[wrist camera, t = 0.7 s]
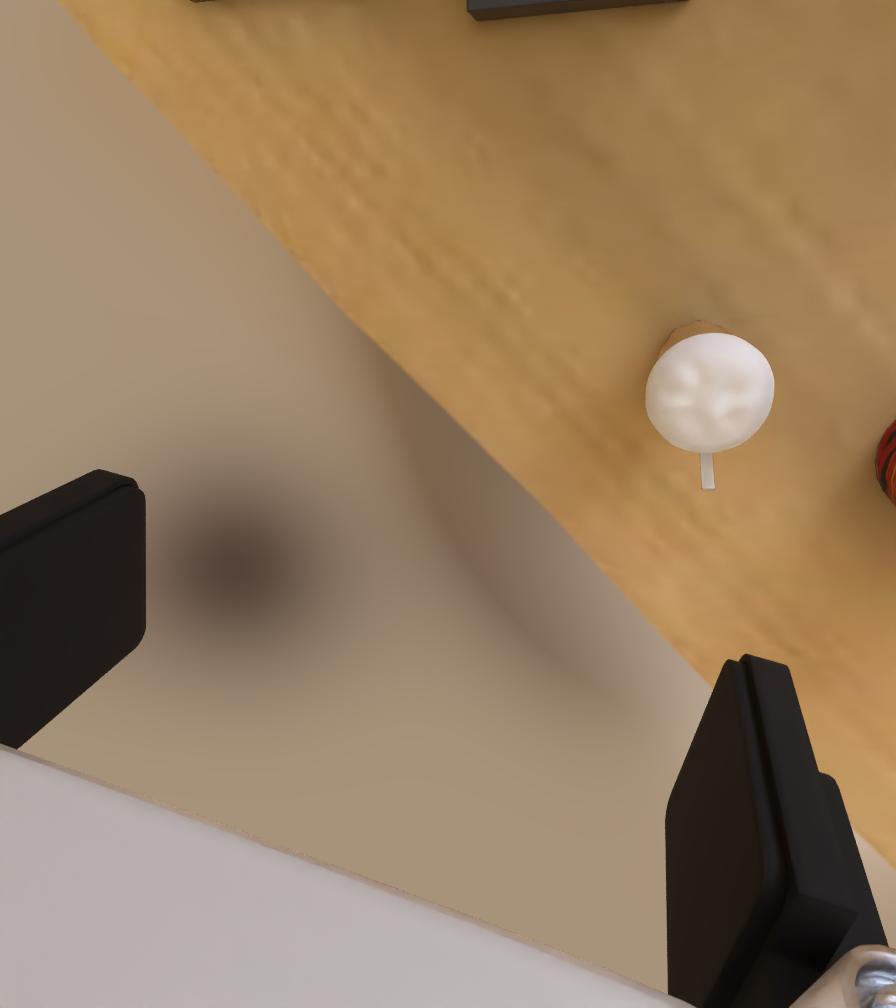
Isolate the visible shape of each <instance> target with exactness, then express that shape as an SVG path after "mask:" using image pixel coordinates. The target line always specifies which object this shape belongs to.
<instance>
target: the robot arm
mask: <svg viewBox="0 0 896 1008" xmlns="http://www.w3.org/2000/svg"><path fill="white" fill-rule="evenodd" d="M145 505H146V502H145V495H144V493H143V491H141V490H140V489H139V487H138V485H137V482H136V481H135V480H134V479H133V478H130V477H126V476H123V475H119V474H115V473H112V472H109V471H105V470H101V469H98V470H94V471H92V472H90V473H87V474H85V475H83V476H81V477H79V478H77V479H75V480H73V481H71V482H69V483H67V484H64V485H62V486H60V487H58V488H56V489H54V490H52V491H50V492H48V493H46V494H43V495H41V496H39V497H37V498H35V499H33V500H31V501H29V502H27V503H25V504H22V505H20V506H18V507H16V508H14V509H12V510H10V511H8V512H6V513H4V514H1V515H0V1008H896V949H894V948H890V947H889V946H888V943H887V939H886V936H885V933H884V930H883V927H882V924H881V920H880V918H879V914H878V911H877V908H876V904H875V902H874V899H873V896H872V892H871V889H870V885H869V882H868V879H867V876H866V873H865V870H864V867H863V863H862V860H861V857H860V854H859V850H858V847H857V844H856V841H855V838H854V834H853V831H852V828H851V825H850V822H849V819H848V815H847V812H846V809H845V806H844V803H843V799H842V796H841V793H840V790H839V787H838V785H837V783H836V781H835V779H834V778H832V777H831V776H830V775H828V774H824V773H821V772H819V771H818V767H817V764H816V760H815V757H814V753H813V750H812V746H811V743H810V739H809V736H808V733H807V729H806V726H805V722H804V719H803V715H802V712H801V708H800V705H799V701H798V698H797V694H796V691H795V687H794V684H793V680H792V677H791V673H790V670H789V668H788V666H786V665H784V664H781V663H777V662H774V661H770V660H767V659H763V658H760V657H756V656H753V655H749V654H744V655H743V656H742V657H741V659H740V660H739V662H737V661H734V660H730V659H728V660H727V661H726V662H725V663H724V665H723V667H722V670H721V672H720V675H719V677H718V679H717V682H716V684H715V687H714V689H713V692H712V695H711V697H710V699H709V702H708V704H707V706H706V709H705V711H704V714H703V716H702V719H701V721H700V724H699V726H698V728H697V731H696V733H695V736H694V738H693V741H692V743H691V746H690V748H689V750H688V753H687V755H686V758H685V760H684V763H683V765H682V768H681V770H680V773H679V775H678V777H677V780H676V782H675V785H674V787H673V790H672V792H671V795H670V798H669V801H668V805H667V810H666V818H665V839H666V895H667V896H666V901H667V957H668V958H667V960H668V961H667V963H668V994H665V993H663V992H661V991H658V990H656V989H653V988H651V987H649V986H646V985H644V984H641V983H639V982H637V981H634V980H632V979H630V978H627V977H625V976H623V975H621V974H618V973H616V972H613V971H611V970H608V969H606V968H604V967H601V966H599V965H596V964H593V963H591V962H589V961H586V960H584V959H581V958H579V957H576V956H573V955H571V954H569V953H566V952H563V951H560V950H558V949H555V948H553V947H550V946H547V945H545V944H542V943H539V942H537V941H534V940H531V939H529V938H526V937H523V936H521V935H518V934H516V933H513V932H511V931H508V930H506V929H503V928H501V927H498V926H496V925H493V924H490V923H488V922H485V921H482V920H480V919H477V918H474V917H472V916H469V915H466V914H464V913H461V912H458V911H455V910H453V909H450V908H448V907H445V906H442V905H439V904H437V903H434V902H431V901H429V900H426V899H423V898H421V897H418V896H415V895H412V894H410V893H407V892H404V891H402V890H399V889H397V888H394V887H391V886H388V885H386V884H383V883H380V882H378V881H375V880H372V879H370V878H367V877H364V876H362V875H359V874H356V873H353V872H351V871H348V870H345V869H343V868H340V867H337V866H335V865H332V864H329V863H327V862H324V861H321V860H319V859H316V858H313V857H311V856H308V855H305V854H303V853H300V852H297V851H294V850H292V849H289V848H286V847H283V846H281V845H278V844H275V843H273V842H270V841H267V840H264V839H262V838H259V837H256V836H253V835H251V834H248V833H245V832H243V831H240V830H237V829H234V828H232V827H229V826H226V825H223V824H221V823H218V822H215V821H213V820H210V819H207V818H204V817H202V816H199V815H196V814H193V813H190V812H188V811H185V810H182V809H180V808H177V807H174V806H171V805H169V804H166V803H163V802H161V801H158V800H155V799H152V798H150V797H147V796H144V795H141V794H139V793H136V792H133V791H130V790H128V789H125V788H121V787H119V786H117V785H114V784H111V783H108V782H106V781H103V780H100V779H97V778H95V777H92V776H89V775H86V774H84V773H81V772H78V771H75V770H72V769H69V768H67V767H64V766H61V765H58V764H56V763H53V762H50V761H47V760H44V759H42V758H39V757H36V756H33V755H30V754H28V753H25V752H22V751H19V750H17V749H18V748H19V747H21V746H22V745H23V744H24V743H25V742H26V741H28V740H29V739H30V738H31V737H32V736H33V735H35V734H36V733H37V732H38V731H39V730H40V729H42V728H43V727H44V726H45V725H46V724H48V723H49V722H50V721H51V720H52V719H53V718H54V717H56V716H57V715H58V714H59V713H60V712H61V711H63V710H64V709H65V708H66V707H67V706H68V705H70V704H71V703H72V702H73V701H74V700H75V699H77V698H78V697H79V696H80V695H81V694H82V693H83V692H85V691H86V690H87V689H88V688H89V687H91V686H92V685H93V684H94V683H95V682H96V681H98V680H99V679H100V678H101V677H102V676H104V675H105V673H107V672H108V671H109V670H111V669H112V668H113V667H114V666H115V665H116V664H118V663H119V662H120V661H121V660H122V659H123V658H124V657H125V656H127V655H128V654H129V653H130V652H132V651H133V650H134V649H135V648H136V647H137V646H138V645H139V643H140V641H141V640H142V638H143V636H144V633H145V629H146V522H145V521H146V518H145V517H146V506H145Z"/></svg>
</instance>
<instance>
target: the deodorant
mask: <svg viewBox="0 0 896 1008" xmlns="http://www.w3.org/2000/svg"><path fill="white" fill-rule="evenodd" d="M875 466H876V475H877V479H878V481H879V483H880V485H881V487H882V490H883V491H884V493H885V494H886V495H887V496H888V498H889V499H890V500H891V501H892V503H893V504H894V505H895V506H896V420H895V421H894V423H893V424H892V425H891V426H890V427H889V428H888V429H887V430H886V432H885V434H884V436H883V438H882V440H881V442H880V444H879V446H878V450H877V455H876V460H875Z"/></svg>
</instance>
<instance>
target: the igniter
mask: <svg viewBox="0 0 896 1008" xmlns="http://www.w3.org/2000/svg"><path fill="white" fill-rule="evenodd" d="M674 1H684V0H467V11H468V13H469V14H470V15H471V16H472V17H473V18H474V19H475V20H476V21H484V20H494V19H504V18H514V17H524V16H534V15H544V14H554V13H564V12H574V11H584V10H594V9H604V8H614V7H624V6H634V5H644V4H654V3H664V2H674Z"/></svg>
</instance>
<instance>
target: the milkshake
mask: <svg viewBox="0 0 896 1008" xmlns="http://www.w3.org/2000/svg"><path fill="white" fill-rule="evenodd" d="M773 397H774V377H773V373H772V370H771V367H770V365H769V363H768V361H767V360H766V358H765V357H764V356H763V354H762V353H761V352H760V351H759V350H758V349H756V348H755V347H754V346H752V345H751V344H750V343H748V342H746V341H745V340H743V339H741V338H739V337H736V336H734V335H733V334H731V333H730V332H728V331H727V330H725V329H724V328H722V327H721V326H717V325H714V324H710V323H706V322H703V321H699V320H698V321H695V322H692V323H690V324H687V325H684V326H681V327H678V328H676V329H675V331H674V332H673V333H672V335H671V336H670V337H669V339H668V340H667V341H666V342H665V344H664V345H663V346H662V349H661V351H660V354H659V357H658V360H657V362H656V363H655V365H654V367H653V368H652V370H651V372H650V375H649V377H648V381H647V385H646V397H645V400H646V410H647V414H648V417H649V419H650V421H651V422H652V424H653V425H654V427H655V428H656V429H657V431H658V432H659V433H660V434H661V436H662V437H663V438H664V439H665V440H667V441H668V442H669V443H670V444H672V445H674V446H675V447H678V448H680V449H683V450H686V451H691V452H697V453H700V469H701V486H702V490H715V479H714V465H713V453H714V452H720V451H725V450H729V449H732V448H734V447H736V446H738V445H740V444H742V443H744V442H745V441H746V440H748V439H749V438H750V437H751V436H752V435H753V434H755V433H756V432H757V430H758V429H759V428H760V427H761V426H762V424H763V423H764V422H765V420H766V418H767V417H768V415H769V412H770V410H771V406H772V402H773Z"/></svg>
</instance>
